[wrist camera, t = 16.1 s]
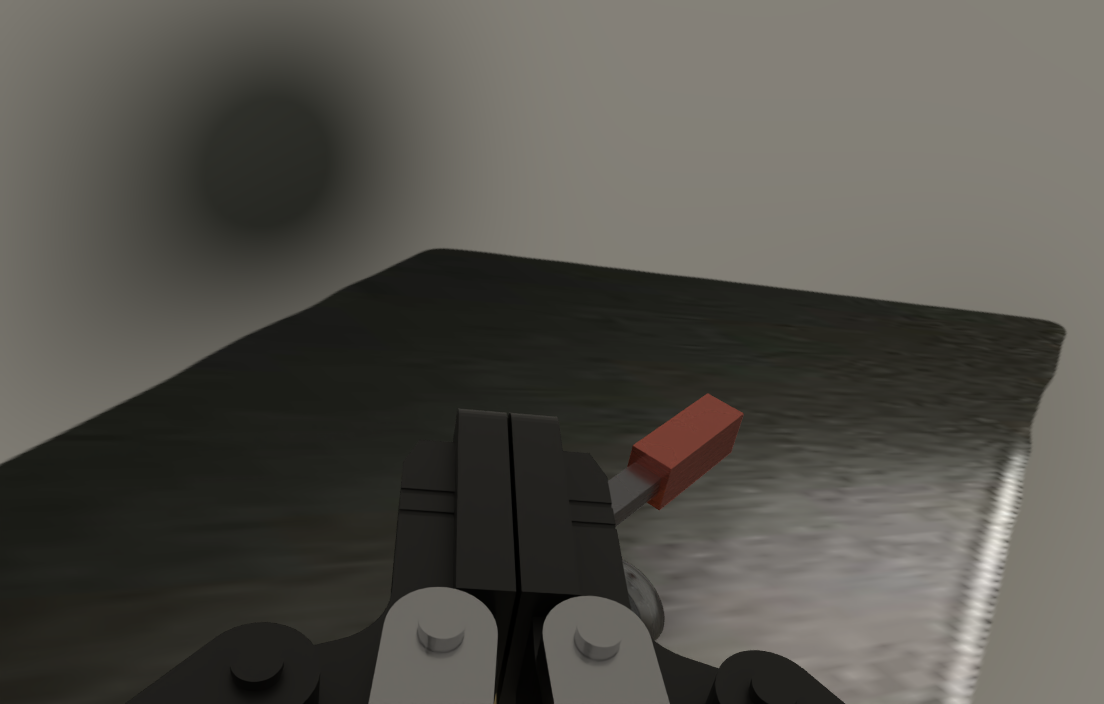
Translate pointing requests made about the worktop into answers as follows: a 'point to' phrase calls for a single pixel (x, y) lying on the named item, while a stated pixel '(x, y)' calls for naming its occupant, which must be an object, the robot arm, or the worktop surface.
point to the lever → (675, 456)
